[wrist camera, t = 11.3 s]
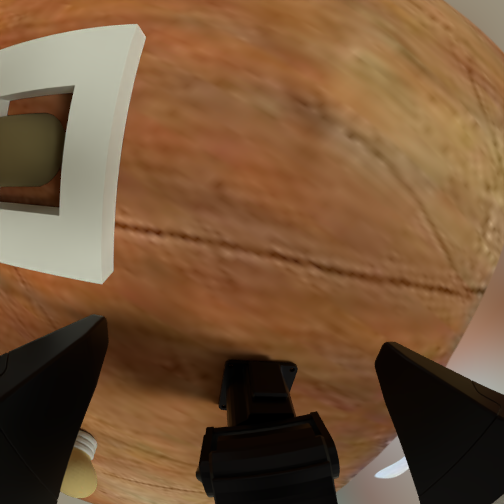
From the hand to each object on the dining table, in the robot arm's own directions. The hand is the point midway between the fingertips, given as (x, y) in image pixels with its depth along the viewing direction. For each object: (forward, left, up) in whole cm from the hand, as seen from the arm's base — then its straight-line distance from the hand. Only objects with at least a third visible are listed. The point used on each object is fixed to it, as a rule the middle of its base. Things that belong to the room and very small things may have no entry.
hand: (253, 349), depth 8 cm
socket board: (+5, +17, -13) cm, 22 cm away
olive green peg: (+5, +17, -13) cm, 22 cm away
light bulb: (-29, +16, -13) cm, 36 cm away
